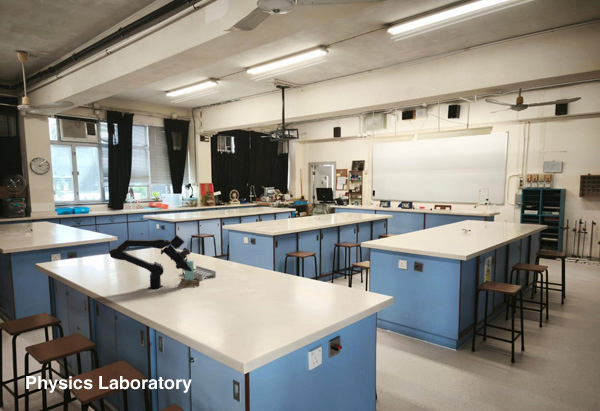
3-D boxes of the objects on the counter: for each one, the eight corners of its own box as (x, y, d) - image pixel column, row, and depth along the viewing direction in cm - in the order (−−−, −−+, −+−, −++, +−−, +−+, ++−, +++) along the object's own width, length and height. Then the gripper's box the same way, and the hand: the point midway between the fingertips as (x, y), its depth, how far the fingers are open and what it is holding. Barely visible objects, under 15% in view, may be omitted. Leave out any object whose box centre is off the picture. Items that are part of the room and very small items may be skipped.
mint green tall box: (185, 281, 218) (184, 261, 217) (185, 280, 221) (185, 260, 220) (194, 280, 219) (194, 261, 219) (194, 279, 223) (194, 260, 222)
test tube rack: (201, 280, 230) (218, 276, 239) (201, 274, 229) (218, 270, 239) (182, 273, 246) (199, 270, 256) (182, 267, 246) (198, 264, 256)
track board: (179, 287, 214) (178, 280, 214) (180, 283, 224) (180, 276, 223) (199, 286, 217) (199, 279, 217) (199, 281, 227) (199, 275, 226)
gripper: (181, 247, 209) (200, 264, 212) (183, 242, 227) (200, 257, 230) (167, 260, 207) (187, 277, 211) (170, 254, 225) (188, 270, 229)
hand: (191, 270), depth 220 cm, fingers closed on mint green tall box, 3 cm apart
